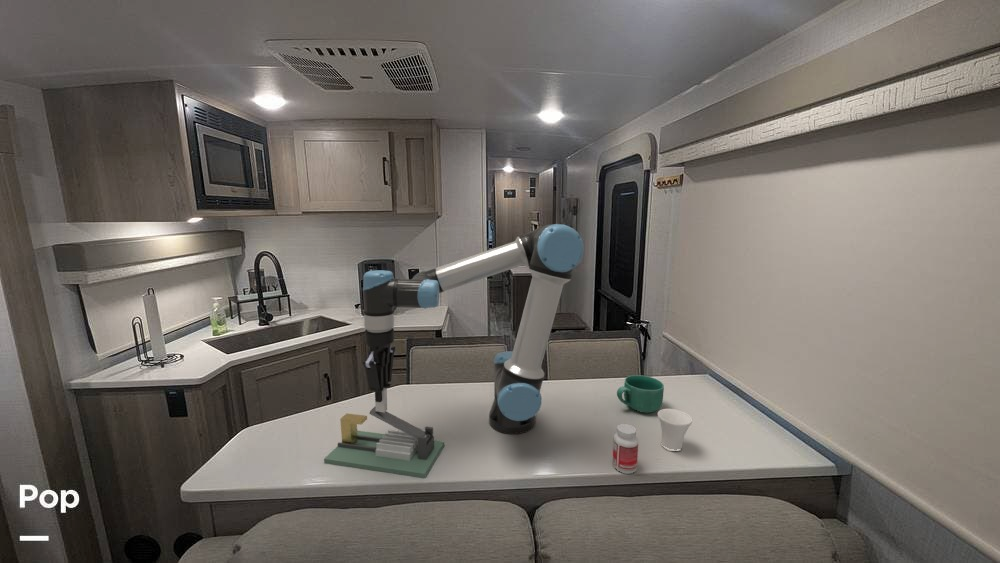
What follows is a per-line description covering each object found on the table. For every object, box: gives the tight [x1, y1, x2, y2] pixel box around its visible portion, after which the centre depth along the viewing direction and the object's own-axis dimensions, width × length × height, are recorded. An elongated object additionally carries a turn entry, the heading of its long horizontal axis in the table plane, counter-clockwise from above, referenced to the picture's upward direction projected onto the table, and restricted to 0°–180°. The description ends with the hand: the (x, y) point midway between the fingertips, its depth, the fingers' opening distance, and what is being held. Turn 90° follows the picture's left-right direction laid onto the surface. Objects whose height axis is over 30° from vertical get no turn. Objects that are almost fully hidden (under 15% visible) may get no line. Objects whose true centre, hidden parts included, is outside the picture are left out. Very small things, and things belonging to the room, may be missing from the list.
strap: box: [368, 406, 431, 443], centre depth 101 cm, size 18×3×2 cm, turn 78°
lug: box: [340, 413, 368, 444], centre depth 105 cm, size 6×3×8 cm, turn 78°
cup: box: [657, 408, 693, 450], centre depth 105 cm, size 9×9×10 cm
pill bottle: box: [611, 423, 639, 475], centre depth 96 cm, size 6×6×11 cm
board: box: [323, 426, 445, 479], centre depth 102 cm, size 29×14×7 cm, turn 78°
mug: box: [616, 374, 665, 413], centre depth 127 cm, size 17×13×10 cm
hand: (381, 410), depth 102 cm, fingers closed
